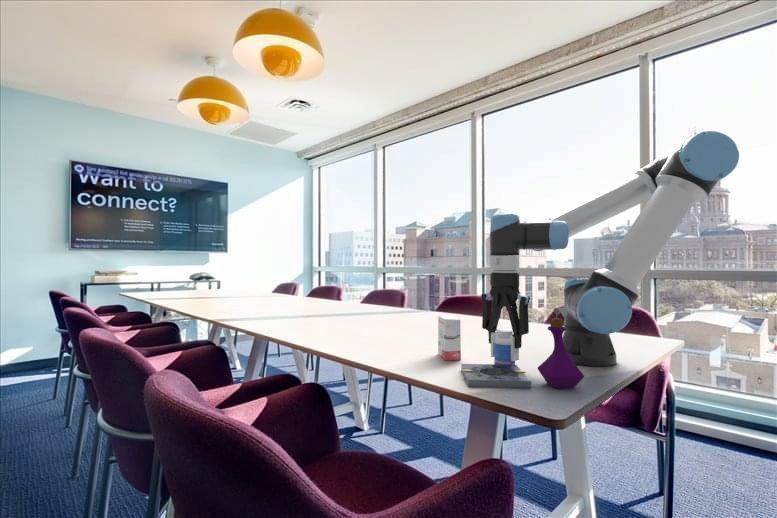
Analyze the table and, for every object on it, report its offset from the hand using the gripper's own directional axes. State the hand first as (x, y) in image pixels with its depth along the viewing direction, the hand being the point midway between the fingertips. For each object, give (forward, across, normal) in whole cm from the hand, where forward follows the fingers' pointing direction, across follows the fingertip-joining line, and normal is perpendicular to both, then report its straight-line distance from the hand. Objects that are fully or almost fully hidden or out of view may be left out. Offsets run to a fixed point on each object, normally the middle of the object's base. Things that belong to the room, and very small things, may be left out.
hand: (504, 357), depth 110 cm
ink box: (+3, -17, -3) cm, 17 cm away
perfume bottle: (+3, +18, -5) cm, 19 cm away
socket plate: (+2, +4, -11) cm, 12 cm away
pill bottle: (+3, 0, 0) cm, 3 cm away
